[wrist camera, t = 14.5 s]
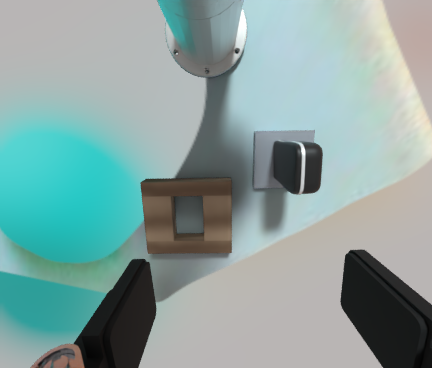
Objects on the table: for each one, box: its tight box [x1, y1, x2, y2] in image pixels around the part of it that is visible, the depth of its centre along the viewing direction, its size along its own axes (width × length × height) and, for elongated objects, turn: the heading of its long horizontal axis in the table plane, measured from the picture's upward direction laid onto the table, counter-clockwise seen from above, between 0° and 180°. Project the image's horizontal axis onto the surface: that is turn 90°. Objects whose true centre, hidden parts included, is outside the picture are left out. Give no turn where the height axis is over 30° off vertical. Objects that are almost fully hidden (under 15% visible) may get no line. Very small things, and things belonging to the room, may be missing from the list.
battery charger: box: [274, 140, 323, 195], centre depth 32 cm, size 7×4×11 cm, turn 3°
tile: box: [253, 130, 315, 188], centre depth 38 cm, size 10×10×1 cm
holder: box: [141, 178, 232, 254], centre depth 40 cm, size 14×16×3 cm
